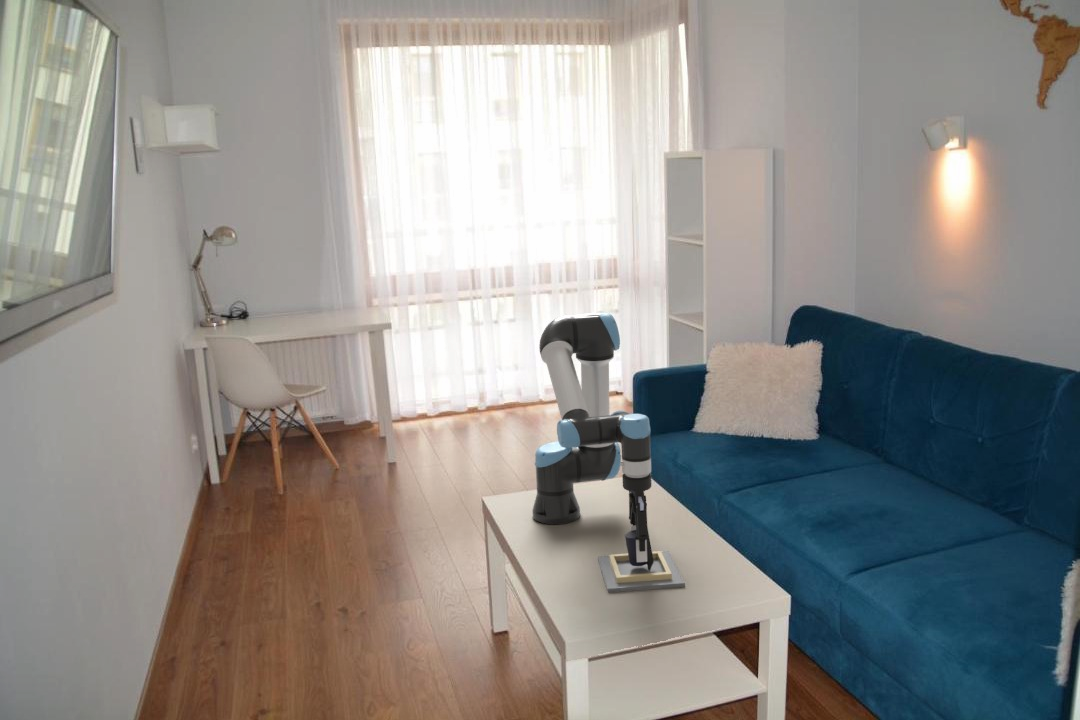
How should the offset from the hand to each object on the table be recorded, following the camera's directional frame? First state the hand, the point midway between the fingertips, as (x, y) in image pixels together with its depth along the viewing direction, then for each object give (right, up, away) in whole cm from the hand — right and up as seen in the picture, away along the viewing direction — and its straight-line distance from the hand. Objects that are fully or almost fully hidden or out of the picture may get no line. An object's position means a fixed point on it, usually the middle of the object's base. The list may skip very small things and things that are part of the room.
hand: (639, 554), depth 230 cm
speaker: (0, -3, +1) cm, 3 cm away
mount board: (0, -5, +1) cm, 5 cm away
